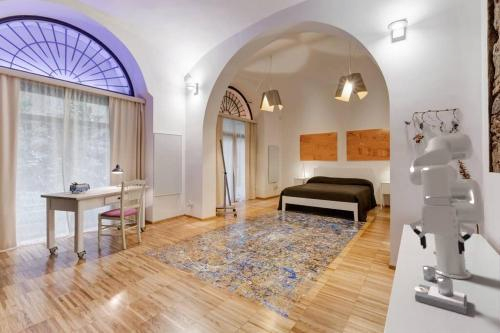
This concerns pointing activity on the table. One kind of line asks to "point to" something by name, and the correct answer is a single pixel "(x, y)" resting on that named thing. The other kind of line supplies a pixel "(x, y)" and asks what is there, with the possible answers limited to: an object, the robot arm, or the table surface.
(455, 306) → the scale
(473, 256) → the table surface
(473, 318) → the table surface
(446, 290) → the cylinder
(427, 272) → the cylinder
